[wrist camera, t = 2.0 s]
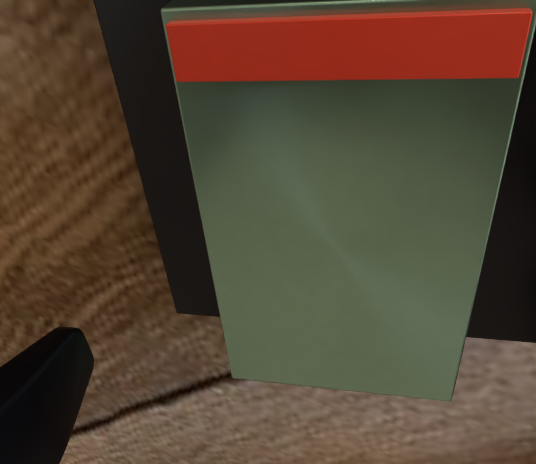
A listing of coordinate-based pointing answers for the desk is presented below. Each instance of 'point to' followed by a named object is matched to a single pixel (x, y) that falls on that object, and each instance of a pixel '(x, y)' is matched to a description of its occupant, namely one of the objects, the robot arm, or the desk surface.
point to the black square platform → (186, 204)
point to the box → (348, 177)
